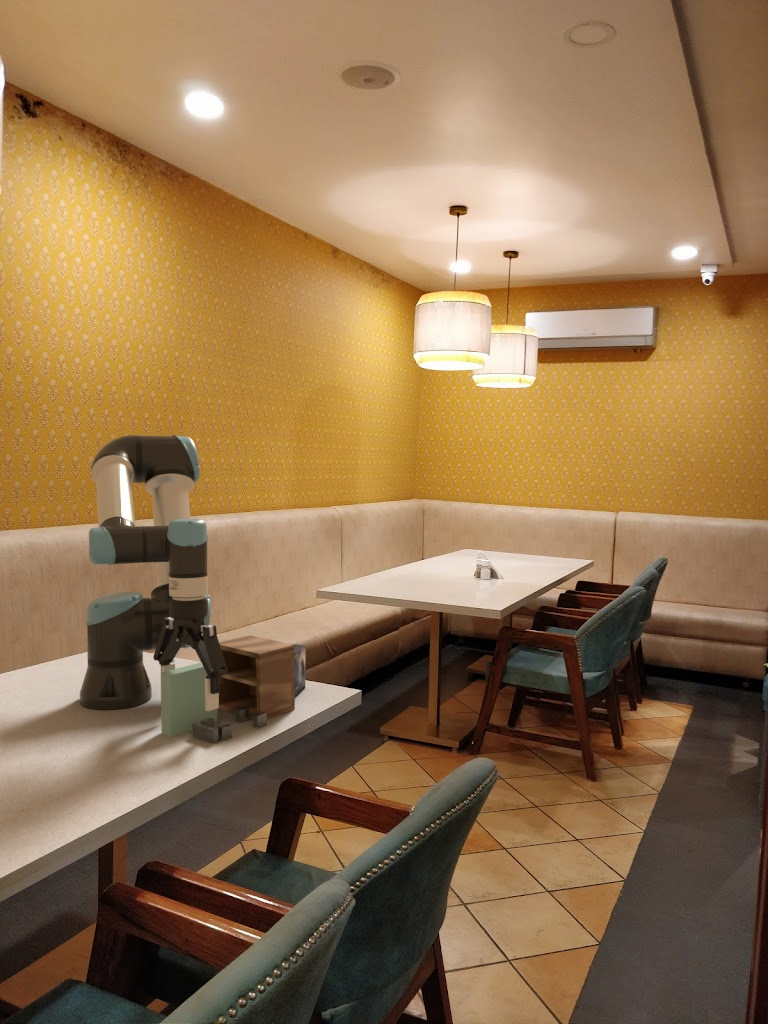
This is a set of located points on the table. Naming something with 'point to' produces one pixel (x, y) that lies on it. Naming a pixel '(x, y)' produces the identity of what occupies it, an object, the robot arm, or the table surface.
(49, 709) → the table surface
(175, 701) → the door
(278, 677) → the cabinet
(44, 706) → the table surface
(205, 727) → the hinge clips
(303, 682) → the small box
